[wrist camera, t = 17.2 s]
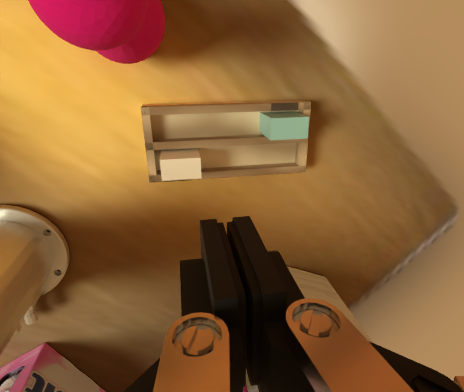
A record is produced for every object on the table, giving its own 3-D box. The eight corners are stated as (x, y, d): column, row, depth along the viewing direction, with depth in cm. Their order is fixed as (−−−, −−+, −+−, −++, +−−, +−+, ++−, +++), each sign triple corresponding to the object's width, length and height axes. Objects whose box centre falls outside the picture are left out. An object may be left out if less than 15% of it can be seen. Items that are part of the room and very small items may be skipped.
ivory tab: (198, 166, 36) (201, 178, 32) (163, 168, 36) (161, 181, 32) (197, 147, 36) (200, 157, 32) (161, 149, 35) (159, 160, 31)
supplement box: (263, 304, 47) (291, 380, 36) (285, 264, 45) (323, 332, 34) (304, 314, 49) (343, 389, 38) (327, 276, 47) (376, 344, 36)
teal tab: (293, 130, 37) (307, 138, 33) (259, 132, 36) (270, 140, 32) (294, 111, 36) (309, 116, 32) (260, 112, 35) (271, 118, 31)
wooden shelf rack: (297, 166, 40) (305, 172, 37) (151, 175, 37) (149, 182, 35) (302, 99, 37) (311, 102, 34) (143, 104, 34) (140, 107, 31)
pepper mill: (111, -39, 29) (1, -219, 11) (179, 14, 31) (187, -58, 13) (76, 34, 30) (-71, -14, 12) (144, 78, 33) (106, 94, 15)
